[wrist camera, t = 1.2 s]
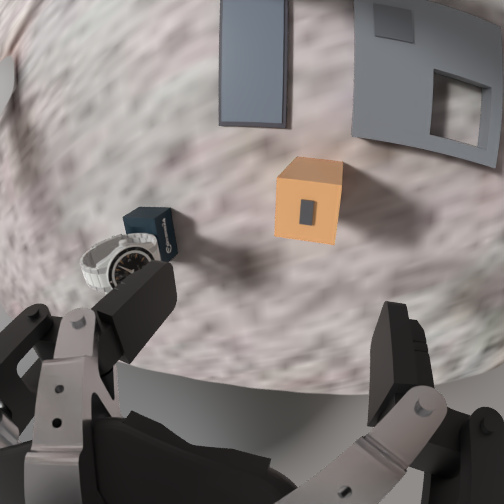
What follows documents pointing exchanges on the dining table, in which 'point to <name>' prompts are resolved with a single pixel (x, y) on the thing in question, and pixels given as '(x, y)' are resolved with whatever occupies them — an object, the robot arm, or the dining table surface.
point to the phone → (253, 63)
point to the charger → (309, 200)
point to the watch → (130, 248)
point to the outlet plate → (423, 73)
